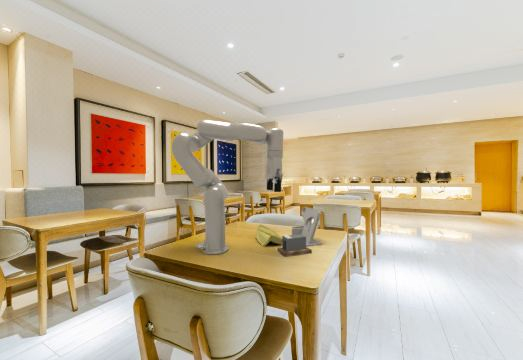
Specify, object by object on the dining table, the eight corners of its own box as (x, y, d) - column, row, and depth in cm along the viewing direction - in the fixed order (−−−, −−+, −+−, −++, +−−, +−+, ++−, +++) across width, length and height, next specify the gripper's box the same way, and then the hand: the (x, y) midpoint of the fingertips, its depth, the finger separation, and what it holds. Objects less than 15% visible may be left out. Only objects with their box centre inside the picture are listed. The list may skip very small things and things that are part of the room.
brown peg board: (284, 256, 106) (284, 244, 105) (277, 251, 113) (277, 239, 113) (311, 253, 110) (311, 241, 110) (303, 247, 118) (303, 237, 118)
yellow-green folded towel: (285, 240, 123) (269, 234, 119) (279, 253, 123) (263, 247, 119) (271, 229, 141) (257, 223, 138) (266, 240, 141) (251, 234, 138)
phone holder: (289, 237, 136) (290, 207, 135) (305, 236, 140) (305, 206, 139) (305, 246, 120) (306, 211, 119) (322, 244, 123) (322, 210, 123)
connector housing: (286, 251, 108) (287, 238, 107) (282, 248, 112) (282, 235, 112) (306, 249, 111) (306, 236, 111) (300, 246, 116) (300, 233, 115)
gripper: (261, 155, 119) (260, 189, 119) (274, 153, 102) (273, 192, 103) (274, 156, 121) (273, 189, 122) (289, 154, 105) (288, 192, 105)
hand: (273, 191), depth 112 cm, fingers open, 9 cm apart
